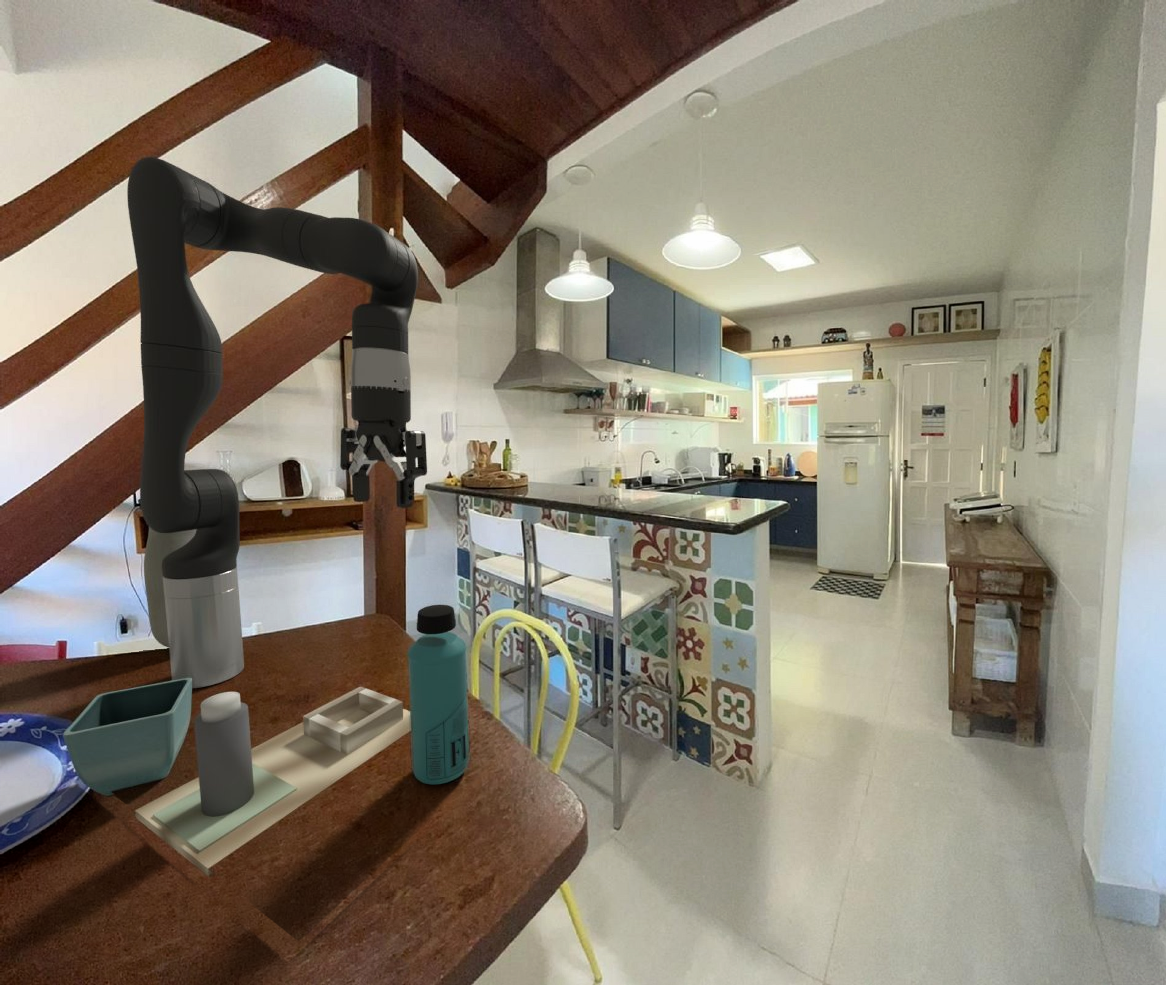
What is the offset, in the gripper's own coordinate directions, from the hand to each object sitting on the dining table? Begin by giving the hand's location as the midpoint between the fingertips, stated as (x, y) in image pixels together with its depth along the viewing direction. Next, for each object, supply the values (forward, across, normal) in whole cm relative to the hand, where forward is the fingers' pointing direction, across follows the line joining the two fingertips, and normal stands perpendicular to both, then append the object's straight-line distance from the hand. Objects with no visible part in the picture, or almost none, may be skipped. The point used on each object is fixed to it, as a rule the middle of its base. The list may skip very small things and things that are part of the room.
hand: (382, 504), depth 67 cm
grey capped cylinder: (+28, +2, -22) cm, 36 cm away
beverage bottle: (+29, +19, -8) cm, 36 cm away
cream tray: (+29, +3, -14) cm, 33 cm away
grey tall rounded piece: (+31, -47, -3) cm, 56 cm away
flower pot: (+30, -12, -24) cm, 40 cm away
